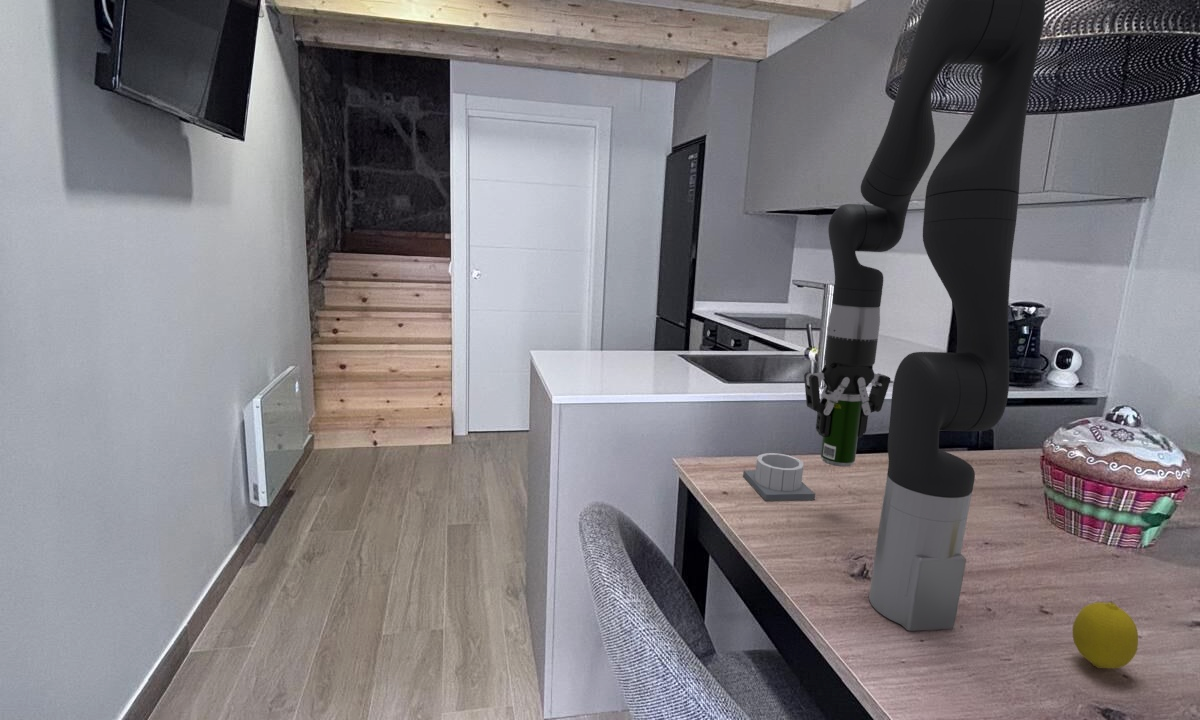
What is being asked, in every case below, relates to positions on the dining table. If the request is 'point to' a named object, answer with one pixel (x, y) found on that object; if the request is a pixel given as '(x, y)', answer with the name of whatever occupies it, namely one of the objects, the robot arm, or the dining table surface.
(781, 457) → the flanged pipe fitting
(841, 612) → the dining table surface
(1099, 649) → the lemon
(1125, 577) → the dining table surface
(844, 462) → the beer can
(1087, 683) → the dining table surface
